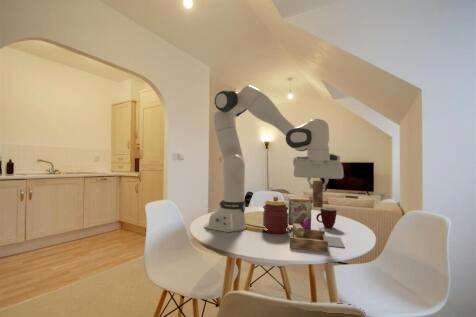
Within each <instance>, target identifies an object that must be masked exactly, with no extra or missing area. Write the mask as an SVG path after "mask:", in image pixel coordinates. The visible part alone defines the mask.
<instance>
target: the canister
mask: <svg viewBox="0 0 476 317" xmlns="http://www.w3.org/2000/svg"><path fill="white" fill-rule="evenodd" d="M264 204H265V205H263V206H262V208H263V212H262V216H263V217H262V226H263V225H264V226H265V227H266V228H267V229H268V230H267V232H266V233H269V234H277V235H278V234H286V233H287V232H286V228H287V227H288V216H289V213H288V211H289V206H287V204H288V202H285V201H284V200H283V199H279V197H278V196H277V195H274V196H273V197H272V198H270V199H267V200H266V201H265V202H264Z"/></svg>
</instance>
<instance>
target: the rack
mask: <svg viewBox="0 0 476 317" xmlns="http://www.w3.org/2000/svg"><path fill="white" fill-rule="evenodd" d="M326 236H327V235H326V231H325V230H319V229H311V230H310V229H303V236H301V238H295V237H294V232H293V228H291V230H290V236H289V248H291V249H300V250H311V251H316V252H324V253H328V252H329V246H328V241H327V239H326Z"/></svg>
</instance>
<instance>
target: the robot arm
mask: <svg viewBox="0 0 476 317" xmlns="http://www.w3.org/2000/svg"><path fill="white" fill-rule="evenodd" d="M214 106H215V108H216V109H217V111H216V112H214V114H213V123H214V129H215V134H216V138H217V141H218V146H219V149H220V152H221V156H222V159H223V163H222V167H223V168H222V169H223V170H222V173H223V199H222V200H221V201H220V202H219V203H218V205H219V206H220V207H219V208H217V209H216V210H215V211H214V212H212V213H211V215H210V216H209V218H208V221H207V222H206V223H205V224H204V229H209V230H214V231H220V232H225V233H231V232H238V231H244V230H246V229H247V228H246V226H247V223H246V217H245V216H246V215H245V214H246V213H245V211H246V200H245V179H246V178H245V177H246V176H245V175H246V174H245V172H246V171H245V170H246V166H245V165H246V164H245V160H244V159H245V158H244V155H243V152H242V151H243V150H242V146H241V142H240V139H239V135H238V131H237V127H236V122H235V117H236V118H237V117H239V116H240V115H241V114H243V113H245V112H246V111H248V112H249V113H250V114H251V115H253V116H254V117H255V118H257V119H258V120H259V121H262V122H265V123H267V124H269V125H271V126H273V127H275V128H276V129H277V130H278V131H280V132H281V133H282V134H283V135H284V136H285V142H286V144H287V145H288V146H289V147H290V149H293V150H295V151H297V152H306V151H307V154H306V156H296V157H294V158H293V160H292V163H293V167H294V169H293V176H294V177H295V178H302V179H303V178H304V179H306V178H307V179H306V180H307V182H308V184H309V189H313V183H312V182H311V179H324V182H323V190H326V187H327V184H328V183H329V180H330V179H331V180H333V179H334V180H342V179H343V178H344V174H345V172H344V166H343V163H342V162H340V161H341V156H340V155H337V154H334V153H332V152H331V153H330V148H329V147H330V146H329V142H330V129H329V125H328V122H326V120H323V119H318V118H312V119H309V120H308V121H307V122H306V123H304V124H302V125H299V126H295V125H294V124H293V123H292V122H290V121H289V120H288V119H287V118H285V117H284V116H283V114H282V113H281V112H280V110H279V109H278V108H277V106H276V104H275V103H274V102H273V100H271V99H270V98H269V96H267V95H266V94H265V93H264V92H262V90H260V89H258V88H256V87H254V86H252V85H246V86H244V87H243V88H242V89H241V90H240V91H239V92H237V91H235V90H221V91H219V92H217V94H216V95H215V97H214ZM245 224H246V226H245Z"/></svg>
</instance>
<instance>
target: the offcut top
mask: <svg viewBox="0 0 476 317" xmlns="http://www.w3.org/2000/svg"><path fill="white" fill-rule="evenodd" d="M293 232H294V233H295V235H296V236H303V227H302V226H301V225H300V224H293Z"/></svg>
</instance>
